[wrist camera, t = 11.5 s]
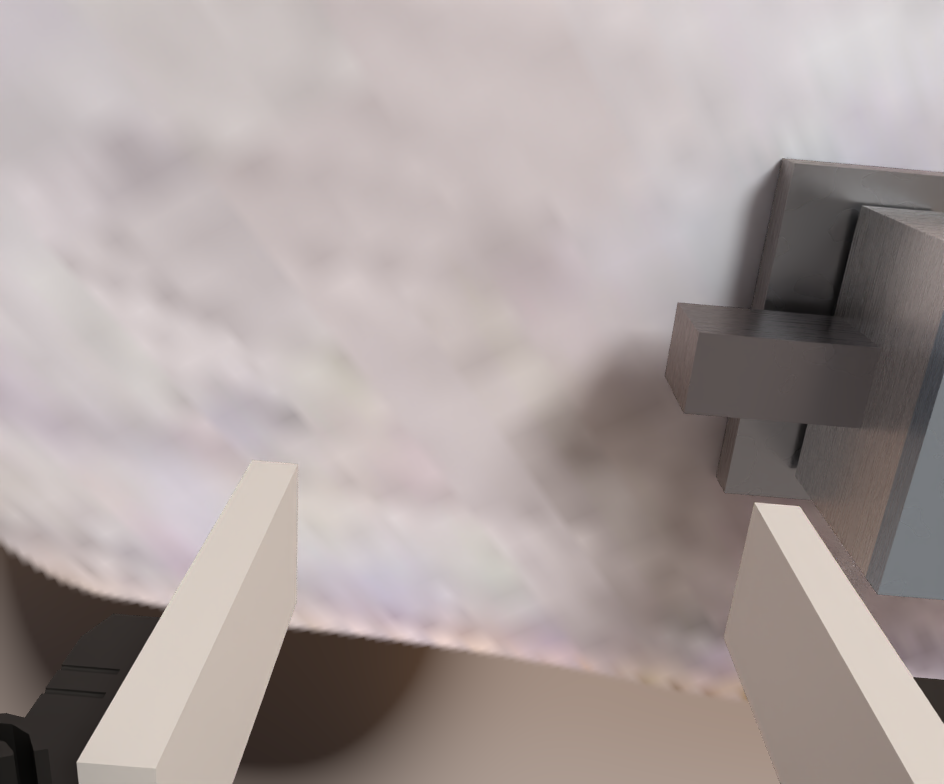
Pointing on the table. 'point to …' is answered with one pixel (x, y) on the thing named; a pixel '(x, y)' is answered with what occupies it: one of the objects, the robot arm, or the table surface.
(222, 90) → the table surface
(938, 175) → the vise
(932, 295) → the vise jaw
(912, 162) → the table surface
